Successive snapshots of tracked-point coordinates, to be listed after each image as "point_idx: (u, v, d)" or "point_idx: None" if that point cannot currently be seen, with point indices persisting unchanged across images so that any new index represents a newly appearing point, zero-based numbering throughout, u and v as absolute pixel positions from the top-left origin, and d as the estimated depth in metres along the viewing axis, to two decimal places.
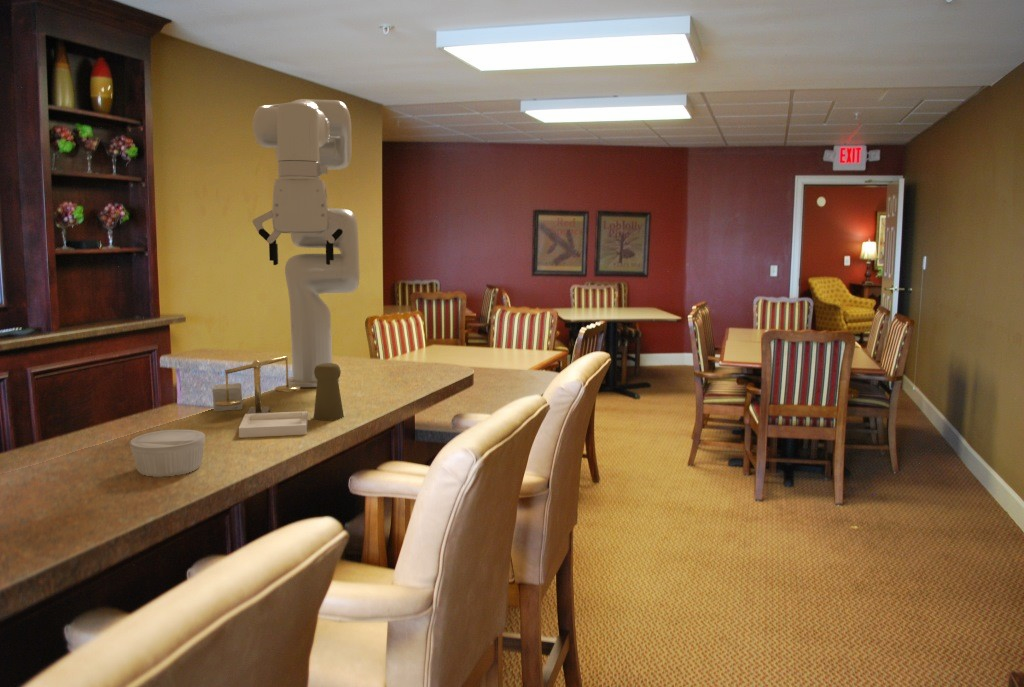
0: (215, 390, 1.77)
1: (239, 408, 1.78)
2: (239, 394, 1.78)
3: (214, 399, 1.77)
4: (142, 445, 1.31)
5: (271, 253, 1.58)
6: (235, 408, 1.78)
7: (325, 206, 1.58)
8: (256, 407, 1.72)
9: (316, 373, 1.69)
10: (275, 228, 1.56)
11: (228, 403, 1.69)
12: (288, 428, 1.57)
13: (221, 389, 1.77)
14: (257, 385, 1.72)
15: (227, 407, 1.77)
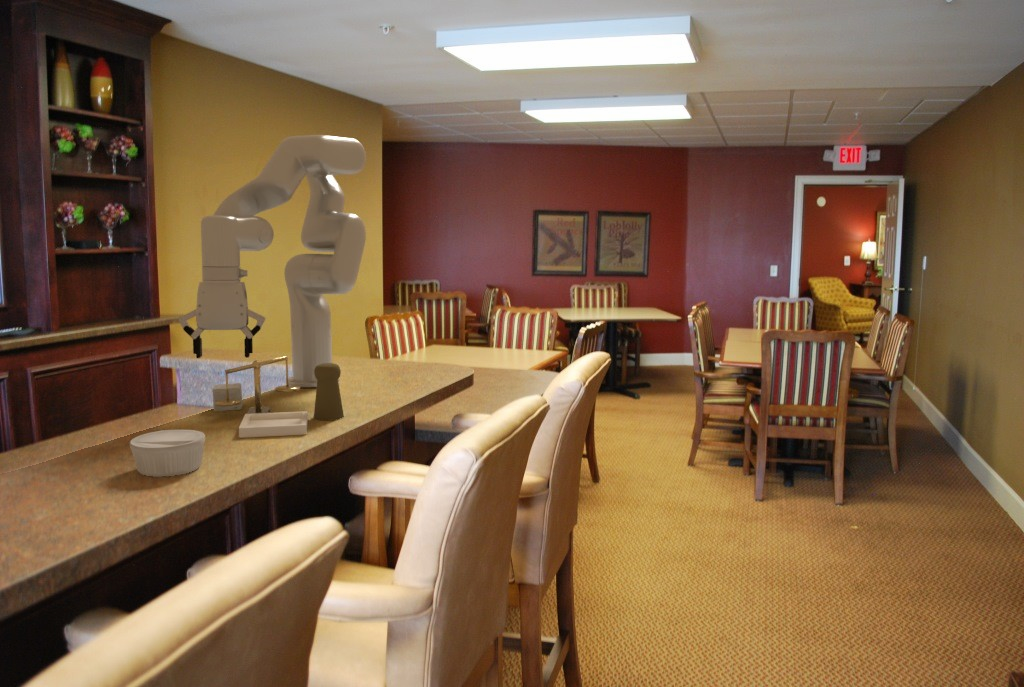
0: (215, 390, 1.77)
1: (239, 408, 1.78)
2: (239, 394, 1.78)
3: (214, 399, 1.77)
4: (142, 445, 1.31)
5: (195, 347, 1.76)
6: (235, 408, 1.78)
7: (244, 306, 1.76)
8: (256, 407, 1.72)
9: (316, 373, 1.69)
10: (198, 326, 1.75)
11: (228, 403, 1.69)
12: (288, 428, 1.57)
13: (221, 389, 1.77)
14: (257, 385, 1.72)
15: (227, 406, 1.77)
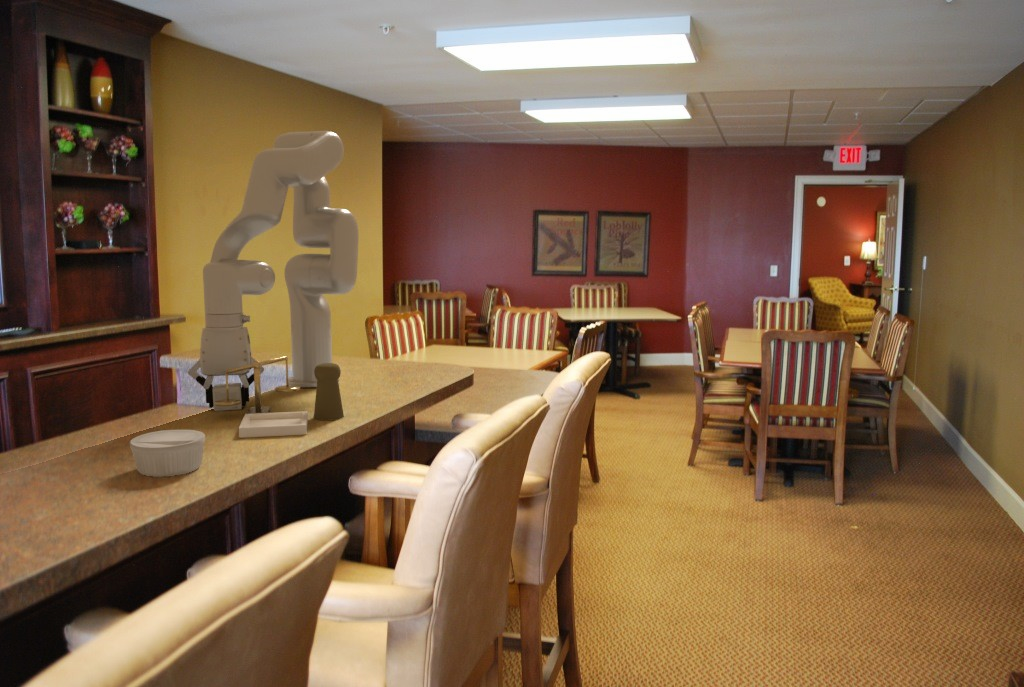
0: (215, 389, 1.77)
1: (239, 408, 1.78)
2: (239, 394, 1.78)
3: (214, 398, 1.77)
4: (142, 445, 1.31)
5: (207, 397, 1.78)
6: (235, 408, 1.78)
7: (247, 351, 1.78)
8: (256, 407, 1.72)
9: (316, 373, 1.69)
10: (202, 372, 1.76)
11: (228, 403, 1.69)
12: (288, 428, 1.57)
13: (221, 388, 1.77)
14: (257, 385, 1.72)
15: (227, 406, 1.77)
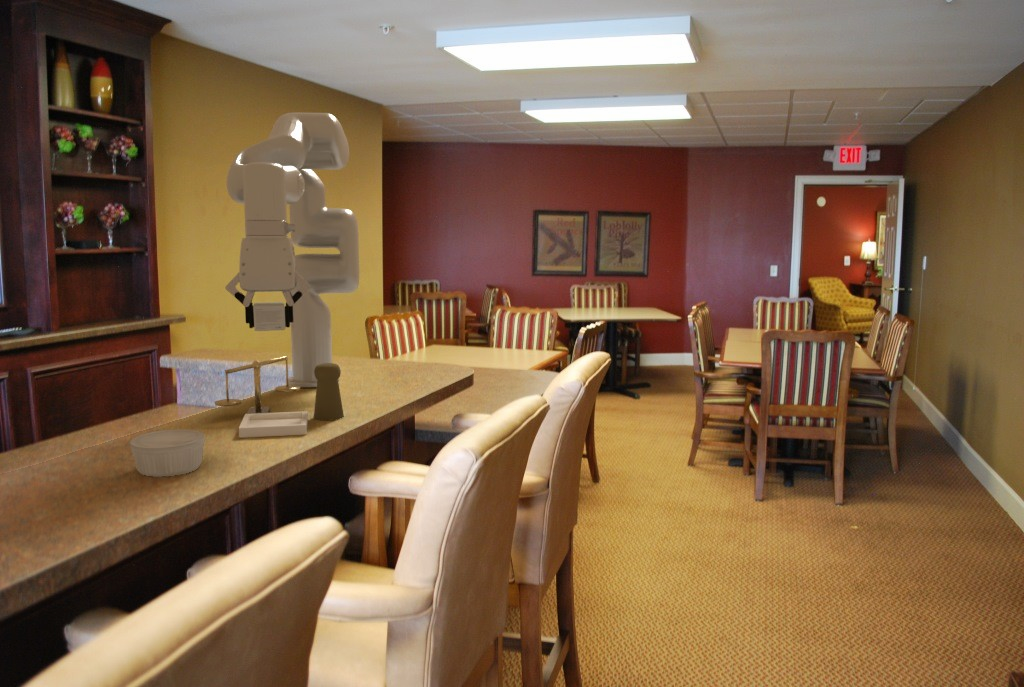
0: (256, 306, 1.56)
1: (283, 328, 1.58)
2: (283, 312, 1.57)
3: (255, 317, 1.56)
4: (142, 445, 1.31)
5: (247, 316, 1.58)
6: (278, 328, 1.58)
7: (292, 264, 1.57)
8: (256, 407, 1.72)
9: (316, 373, 1.69)
10: (242, 287, 1.56)
11: (228, 403, 1.69)
12: (288, 428, 1.57)
13: (263, 306, 1.56)
14: (257, 385, 1.72)
15: (269, 326, 1.57)
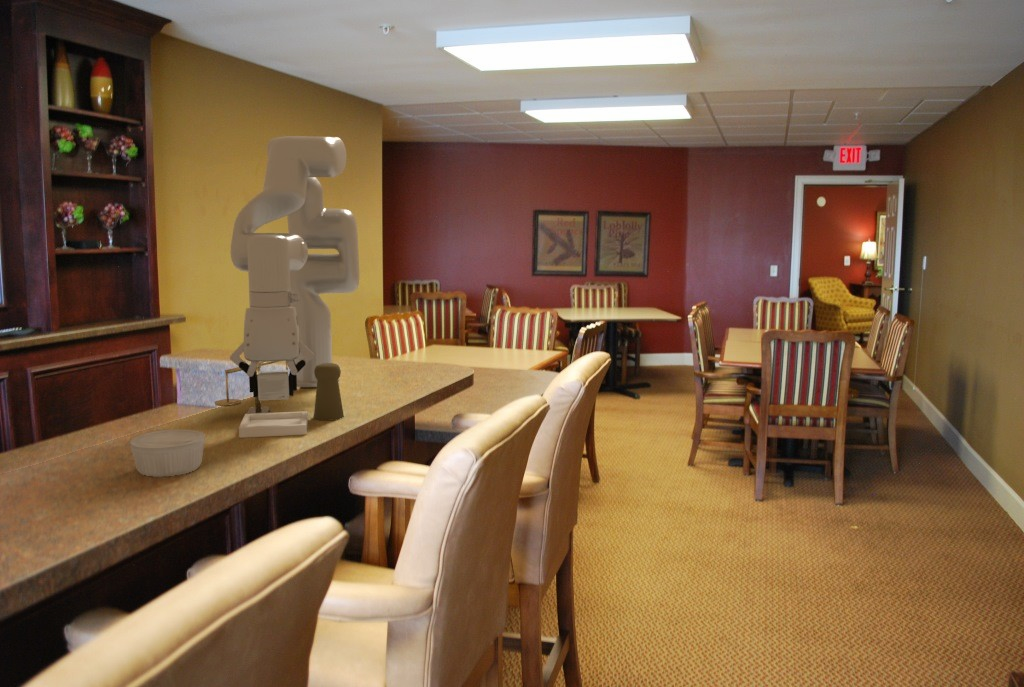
0: (260, 377, 1.57)
1: (287, 397, 1.59)
2: (287, 381, 1.59)
3: (259, 387, 1.58)
4: (142, 445, 1.31)
5: (251, 385, 1.59)
6: (282, 397, 1.59)
7: (296, 334, 1.59)
8: (256, 407, 1.72)
9: (316, 373, 1.69)
10: (246, 357, 1.57)
11: (228, 403, 1.69)
12: (288, 428, 1.57)
13: (267, 375, 1.58)
14: None
15: (273, 395, 1.58)
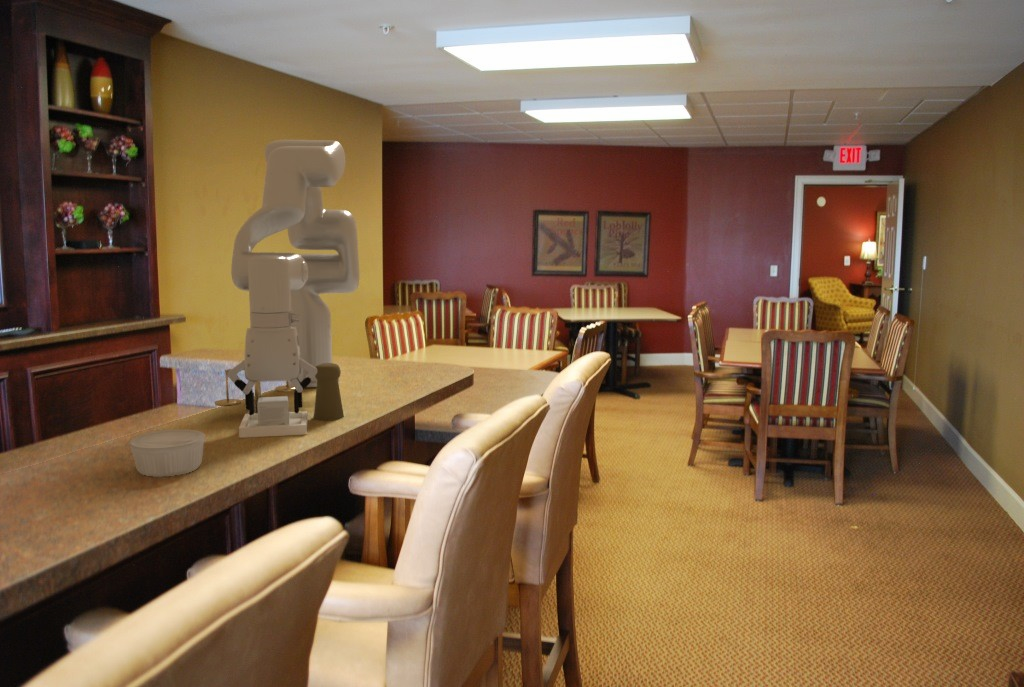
0: (260, 404, 1.58)
1: (286, 424, 1.60)
2: (286, 409, 1.60)
3: (259, 414, 1.59)
4: (142, 445, 1.31)
5: (247, 403, 1.60)
6: (282, 424, 1.60)
7: (297, 354, 1.59)
8: (256, 407, 1.72)
9: None
10: (247, 377, 1.58)
11: (228, 403, 1.69)
12: (288, 428, 1.57)
13: (267, 403, 1.59)
14: (257, 385, 1.72)
15: (273, 422, 1.59)
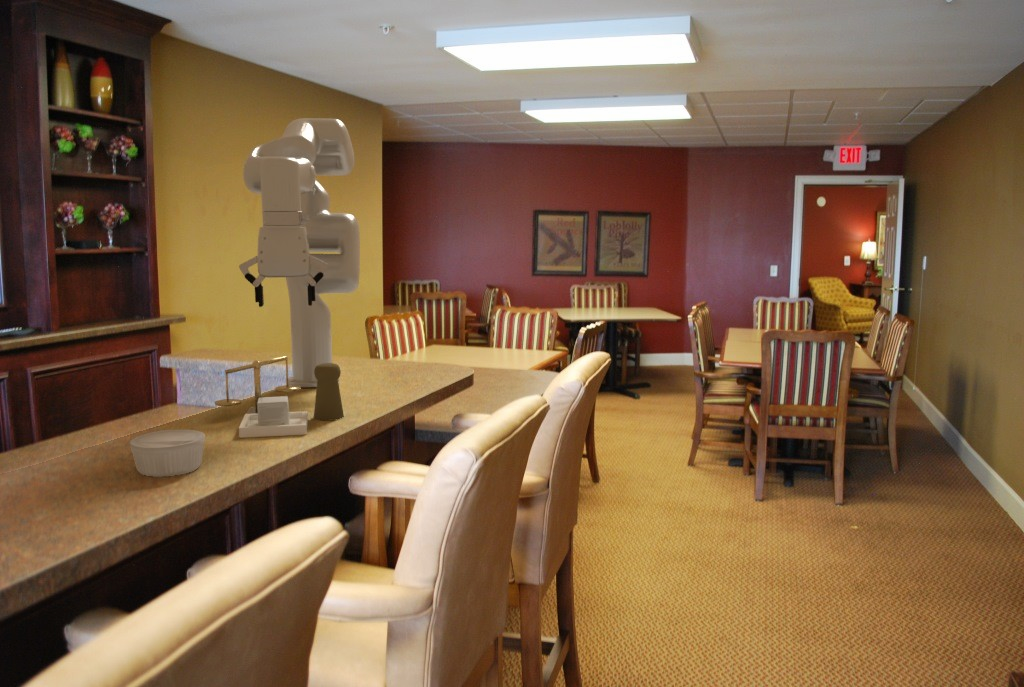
0: (260, 404, 1.58)
1: (286, 424, 1.60)
2: (286, 409, 1.60)
3: (259, 414, 1.59)
4: (142, 445, 1.31)
5: (257, 296, 1.70)
6: (282, 424, 1.60)
7: (307, 252, 1.69)
8: (256, 407, 1.72)
9: (316, 373, 1.69)
10: (260, 273, 1.68)
11: (228, 403, 1.69)
12: (288, 428, 1.57)
13: (267, 403, 1.59)
14: (257, 385, 1.72)
15: (273, 422, 1.59)
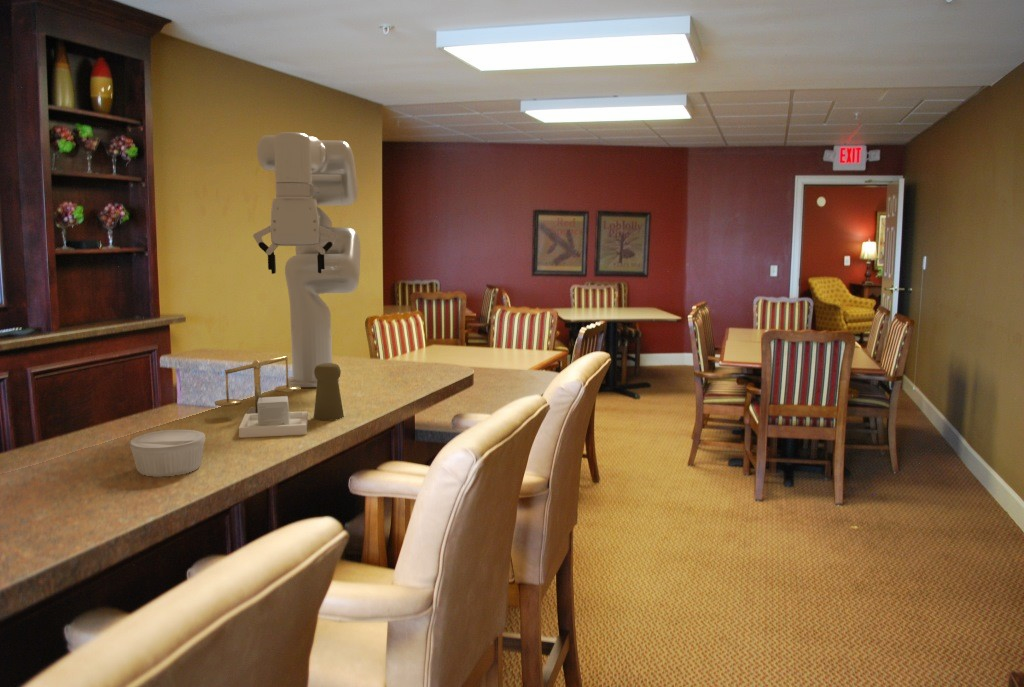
0: (260, 404, 1.58)
1: (286, 424, 1.60)
2: (286, 409, 1.60)
3: (259, 414, 1.59)
4: (142, 445, 1.31)
5: (269, 263, 1.80)
6: (282, 424, 1.60)
7: (317, 222, 1.80)
8: (256, 407, 1.72)
9: (316, 373, 1.69)
10: (273, 241, 1.79)
11: (228, 403, 1.69)
12: (288, 428, 1.57)
13: (267, 403, 1.59)
14: (257, 385, 1.72)
15: (273, 422, 1.59)
